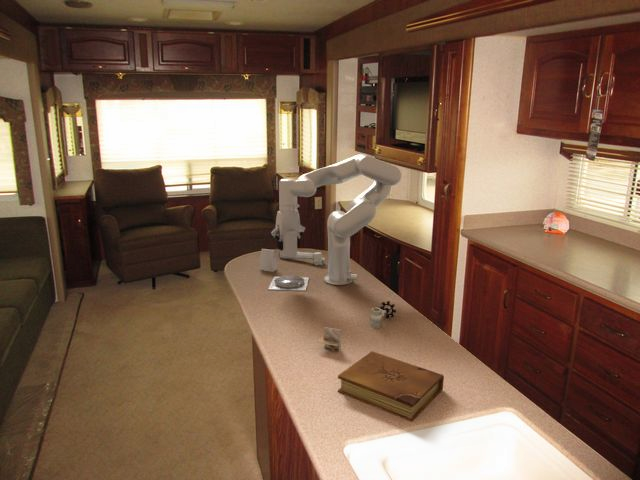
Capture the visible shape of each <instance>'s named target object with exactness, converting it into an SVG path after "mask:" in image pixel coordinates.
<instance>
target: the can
mask: <svg viewBox="0 0 640 480" xmlns="http://www.w3.org/2000/svg"><path fill="white" fill-rule="evenodd" d="M280 236H281V235H280ZM282 241H283V250H282V251H281V250H279V252H280V255H282V256H283V257H294V256H295V255H296V254H297V252H298V248H297V232H296V231H295V230H290V231H287V233H286V234H285V235H283V239H282Z"/></svg>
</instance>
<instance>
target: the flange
mask: <svg viewBox="0 0 640 480" xmlns="http://www.w3.org/2000/svg"><path fill="white" fill-rule="evenodd" d="M309 280H310V277H306V276H299V275H282V276H281V275H280V276H276V275H275V276H273V278H272V281H271V282H270V284H269V287H267V288H268V289H267V290H268V291H291V292H292V291H293V292H296V291H297V292H305V291H307V287H308V284H309Z"/></svg>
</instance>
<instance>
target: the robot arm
mask: <svg viewBox="0 0 640 480" xmlns="http://www.w3.org/2000/svg"><path fill="white" fill-rule="evenodd" d="M359 176H364V177H366V178H369V179H371V180H373V183H372V184H371V185H370V186H369V187H368V188H367V189H366V190H364V191H362V193H360V194H359V195H357V196H356V197H354V198H353V199H352V200H351V201H350V202H349V204H348V211H347V212H345V211H343V210H333V212H331V213H330V214H329V216H328V218H327V224H326V226H327V227H326V228H327V239H328V240H327V241H328V242H327V243H328V244H327V245H328V246H327V249H328V250H327V257H328V258H327V275H325V276H324V282H325V283H327V284H329V285H335V286H344V285H349V284H351V283H353V281H358V278H359V277H358V274H355V273H354V274H353V273H352V270H351V269H350V261H351V259H350V256H351V255H350V254H351V253H350V252H351V251H350V247H351V237H352V236H353V235H356V233H358V232H359V231H360V230H362V229H363V228H364V227H366V226H367V225H368V224H370V223H371V222H372V221H373V220H374V218H375V216H376V214H377V207H378V206H379V205H380V204H382V203H383V202H384V201H385V200H386V199H387V198H388V196H389V195H390V192H391V190H392V186H396V185H398V184H399V183H400V182H401V179H402V171H401V169H400V168H399V167H397V166H395V165H393V164H391V163H388V162H385V161H382V160H380V159H378V158H376V157H374V156H372V155H370V154H367V153H359V154H356V155H354V156H352V157H348V158H346V159H344V160H341V161H340V162H337V163H333V164H331V165H328V166H327V165H326V166H325V167H321V168H318V169H315V170H312V171H310V172H307V173H304V174H302V175H300V176H299V177H298V178H296V179H295V178H291V177H290V178H281V179H280V180H279V181H278V199H279V200H278V201H279V204H278V205H279V206H278V207H279V210H278V211H277V214H276V217H275V218H276V219H275V228H273V230H272V231H270V234H271V236H272V237H273V238H274V239H275V240H276V243H277V244H276V245H277V249H278V250H279V251H280V250H281V251H282V250H283V241H282V239H283V235H285V234H286V233H287V231H290V230H295V231H296V232H297V249H299V248H300V239H301V237H302V235H303V234H304V232H305V230H306V227H305V226H303V225H302V224H301V219H300V213H299V210H298V208H300V204H299V203H298V197H303V198H309V197H312V196H314V195H315V194H316V192H317V188H320V187H322V186H326V185H339V184H343V183H345V182H348V181H350V180H352V179H354V178H357V177H359ZM280 235H281V236H280Z"/></svg>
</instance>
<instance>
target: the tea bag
mask: <svg viewBox="0 0 640 480" xmlns="http://www.w3.org/2000/svg"><path fill="white" fill-rule="evenodd" d="M259 270H260V271H263V270H264V272H271V273H273V272H275V271H276V270H277V255H276V253H275V249H267V248H261V251H260V256H259Z"/></svg>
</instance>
